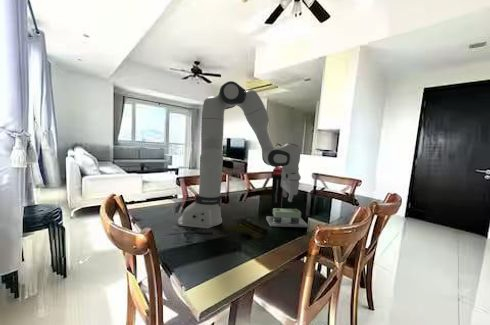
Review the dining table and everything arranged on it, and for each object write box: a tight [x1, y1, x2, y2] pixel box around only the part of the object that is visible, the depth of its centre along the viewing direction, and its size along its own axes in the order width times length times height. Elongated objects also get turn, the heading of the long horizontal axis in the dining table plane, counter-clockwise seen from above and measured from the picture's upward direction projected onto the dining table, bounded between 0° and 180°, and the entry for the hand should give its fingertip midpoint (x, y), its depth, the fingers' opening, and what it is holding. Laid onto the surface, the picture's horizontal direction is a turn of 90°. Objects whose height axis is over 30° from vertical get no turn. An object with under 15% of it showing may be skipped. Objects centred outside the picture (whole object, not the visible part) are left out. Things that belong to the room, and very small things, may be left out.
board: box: [272, 208, 302, 218], centre depth 121 cm, size 14×6×3 cm, turn 95°
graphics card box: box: [270, 166, 284, 214], centre depth 143 cm, size 17×7×27 cm, turn 168°
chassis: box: [265, 208, 308, 228], centre depth 121 cm, size 20×11×8 cm, turn 96°
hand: (287, 199), depth 120 cm, fingers open, 8 cm apart
